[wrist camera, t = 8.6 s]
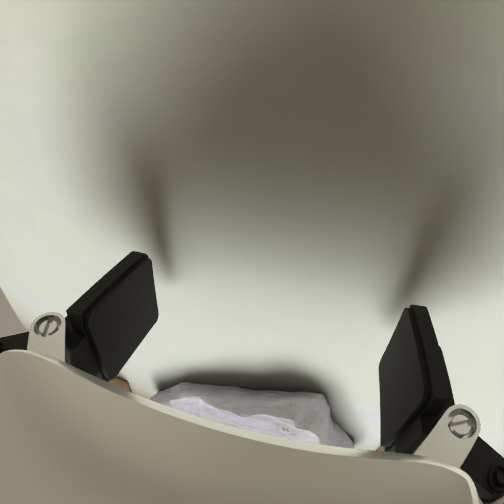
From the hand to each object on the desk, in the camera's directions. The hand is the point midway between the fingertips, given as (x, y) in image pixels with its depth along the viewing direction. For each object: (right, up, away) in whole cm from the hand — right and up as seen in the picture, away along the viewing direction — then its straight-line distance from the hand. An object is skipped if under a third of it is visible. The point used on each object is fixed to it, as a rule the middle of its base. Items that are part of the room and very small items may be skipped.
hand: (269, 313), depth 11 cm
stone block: (-1, -8, +7) cm, 11 cm away
